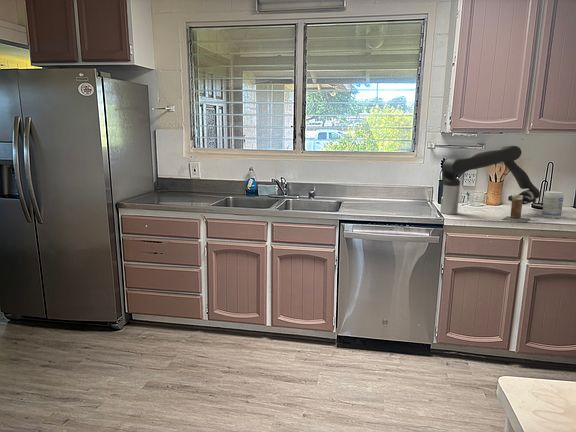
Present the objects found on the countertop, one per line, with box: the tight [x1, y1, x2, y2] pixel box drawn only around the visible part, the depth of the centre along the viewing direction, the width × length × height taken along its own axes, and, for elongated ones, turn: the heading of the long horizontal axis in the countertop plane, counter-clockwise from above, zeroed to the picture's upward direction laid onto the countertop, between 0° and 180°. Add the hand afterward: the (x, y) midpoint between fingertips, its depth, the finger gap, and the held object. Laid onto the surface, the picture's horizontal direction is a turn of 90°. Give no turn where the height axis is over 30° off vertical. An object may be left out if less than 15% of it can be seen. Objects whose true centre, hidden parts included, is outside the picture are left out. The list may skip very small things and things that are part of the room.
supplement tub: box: [541, 190, 565, 219], centre depth 242 cm, size 10×10×15 cm
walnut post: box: [510, 194, 523, 219], centre depth 237 cm, size 4×4×13 cm
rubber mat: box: [501, 215, 531, 223], centre depth 236 cm, size 12×11×1 cm
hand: (519, 200), depth 242 cm, fingers open, 8 cm apart
